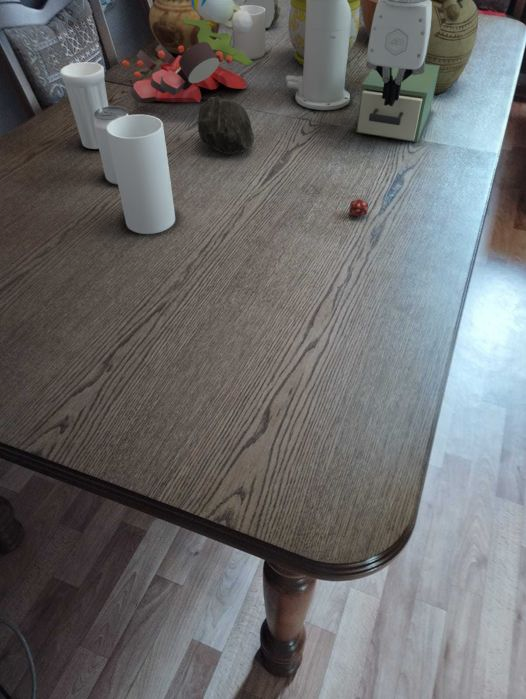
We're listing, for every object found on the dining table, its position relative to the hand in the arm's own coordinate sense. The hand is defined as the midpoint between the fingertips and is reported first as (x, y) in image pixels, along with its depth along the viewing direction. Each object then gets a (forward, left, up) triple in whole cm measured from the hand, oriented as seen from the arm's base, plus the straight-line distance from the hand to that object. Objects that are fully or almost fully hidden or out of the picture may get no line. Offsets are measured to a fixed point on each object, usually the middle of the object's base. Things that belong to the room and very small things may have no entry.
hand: (389, 103), depth 105 cm
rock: (-29, -12, -9) cm, 33 cm away
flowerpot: (-26, +43, -9) cm, 51 cm away
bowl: (-10, +67, -9) cm, 68 cm away
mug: (-46, +42, -9) cm, 63 cm away
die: (+2, -27, -9) cm, 28 cm away
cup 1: (-54, -20, -9) cm, 58 cm away
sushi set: (-47, +11, -9) cm, 49 cm away
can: (-42, -30, -9) cm, 53 cm away
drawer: (0, +8, -8) cm, 11 cm away
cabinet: (0, +12, -9) cm, 15 cm away
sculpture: (-53, +70, -9) cm, 88 cm away
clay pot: (-63, +38, -9) cm, 74 cm away
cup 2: (-30, -41, -9) cm, 52 cm away
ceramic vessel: (+2, +35, -9) cm, 36 cm away
